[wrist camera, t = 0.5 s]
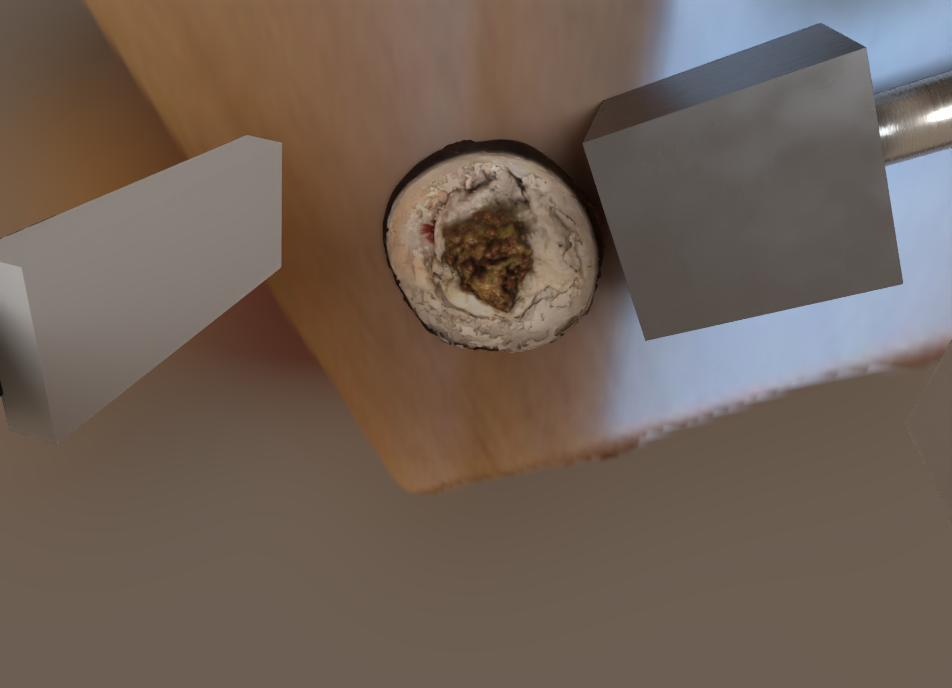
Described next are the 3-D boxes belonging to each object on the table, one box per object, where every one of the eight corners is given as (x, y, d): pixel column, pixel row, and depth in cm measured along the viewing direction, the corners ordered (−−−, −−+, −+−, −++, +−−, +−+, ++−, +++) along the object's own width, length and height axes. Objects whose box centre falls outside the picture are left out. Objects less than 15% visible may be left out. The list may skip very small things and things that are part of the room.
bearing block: (651, 263, 39) (645, 340, 31) (603, 100, 35) (582, 143, 28) (854, 209, 35) (903, 283, 27) (820, 22, 32) (866, 47, 24)
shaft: (763, 211, 36) (778, 258, 30) (734, 84, 33) (745, 111, 28) (1113, 115, 30) (1207, 152, 25) (1108, -44, 28) (1212, -40, 23)
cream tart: (347, 126, 40) (315, 144, 36) (619, 95, 36) (613, 111, 32) (399, 357, 46) (377, 391, 43) (634, 354, 42) (630, 391, 39)
